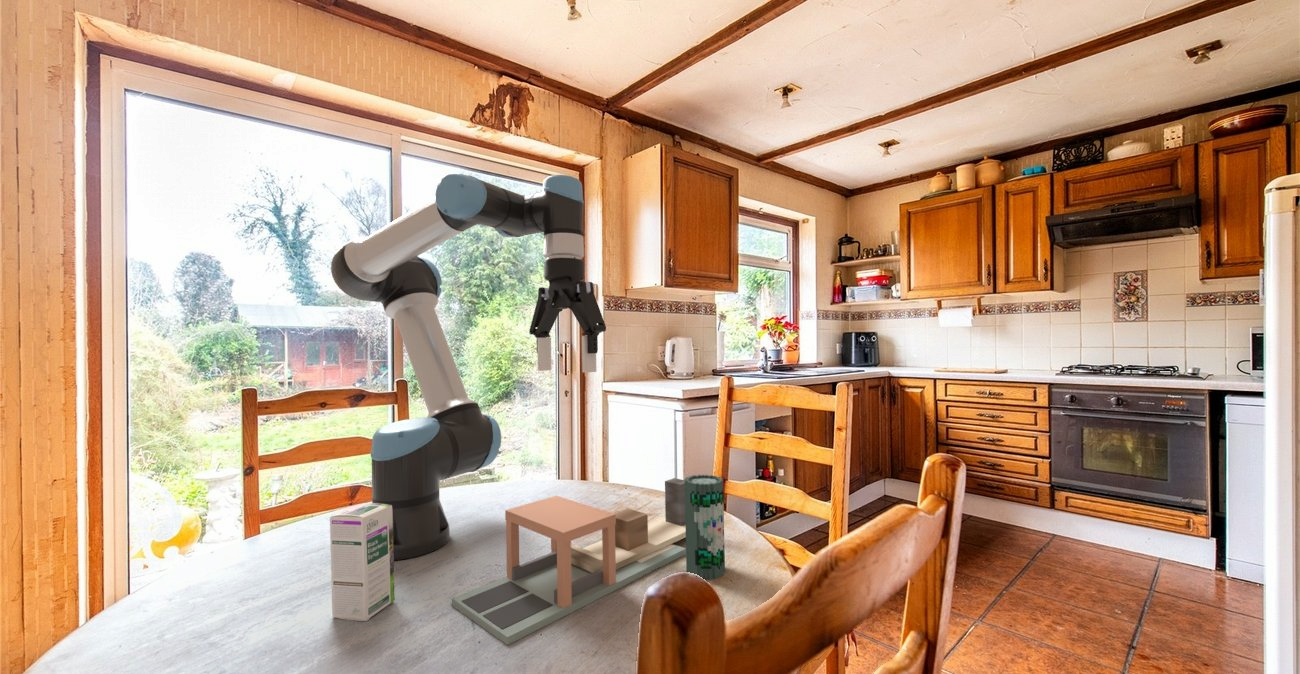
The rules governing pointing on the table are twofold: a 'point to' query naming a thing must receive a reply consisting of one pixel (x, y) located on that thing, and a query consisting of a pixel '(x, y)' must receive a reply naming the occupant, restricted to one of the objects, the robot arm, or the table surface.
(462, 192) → the robot arm
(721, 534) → the can
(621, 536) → the block
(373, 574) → the syrup box
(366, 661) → the table surface
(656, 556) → the track
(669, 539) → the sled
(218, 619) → the table surface
